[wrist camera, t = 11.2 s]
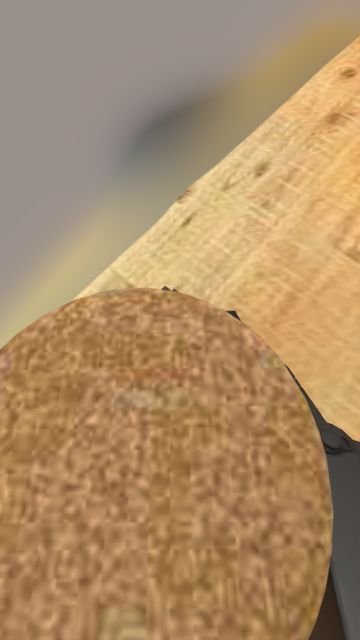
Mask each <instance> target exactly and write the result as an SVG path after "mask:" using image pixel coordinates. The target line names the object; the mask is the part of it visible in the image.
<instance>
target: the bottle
mask: <svg viewBox="0 0 360 640" xmlns="http://www.w3.org/2000/svg"><path fill="white" fill-rule="evenodd" d="M332 538H333V504H332V496H331V488H330V480H329V472H328V464H327V458H326V454H325V451H324V447H323V444H322V440H321V436H320V433H319V430H318V428H317V425H316V423H315V420H314V418H313V415H312V413H311V410H310V408H309V405H308V402H307V400H306V398H305V397H304V395H303V394H302V392H301V390H300V389H299V387H298V385H297V384H296V382H295V380H294V379H293V377H292V376H291V374H290V372H289V371H288V369H287V368H286V367H285V365H284V364H283V362H282V361H281V360H280V358H279V357H278V355H277V354H276V353H275V352H274V351H273V350H272V349H271V348H270V347H269V346H268V345H267V344H266V343H265V342H264V341H263V340H262V338H261V337H260V336H259V335H257V334H256V333H255V332H254V331H253V330H251V329H250V328H249V327H248V326H247V325H245V324H244V323H242V322H241V321H239V320H238V319H237V318H235V317H234V316H232V315H231V314H229V313H228V312H226V311H224V310H222V309H220V308H218V307H216V306H214V305H212V304H209V303H207V302H205V301H203V300H200V299H197V298H194V297H191V296H188V295H185V294H182V293H179V292H174V291H167V290H160V289H152V288H134V289H118V290H112V291H106V292H100V293H96V294H93V295H90V296H87V297H83V298H80V299H77V300H73V301H71V302H69V303H67V304H65V305H63V306H61V307H60V308H57V309H55V310H53V311H51V312H50V313H48V314H46V315H44V316H42V317H41V318H39V319H38V320H36V321H35V322H33V323H32V324H31V325H29V326H28V327H26V328H25V329H23V330H22V331H21V332H19V333H18V334H17V335H15V336H14V337H13V338H12V339H11V340H10V341H9V342H8V343H7V344H6V345H5V346H4V347H3V348H1V349H0V640H308V639H309V637H310V634H311V632H312V630H313V627H314V625H315V623H316V620H317V617H318V613H319V610H320V606H321V603H322V600H323V596H324V593H325V589H326V583H327V577H328V571H329V565H330V559H331V553H332Z"/></svg>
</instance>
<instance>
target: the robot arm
mask: <svg viewBox="0 0 360 640" xmlns="http://www.w3.org/2000/svg"><path fill="white" fill-rule="evenodd" d="M226 312H228V313H229V314H231V315H232V316H234V317H235V318H237V319H238V320H239V321H241V320H240V319H239V317H238V315H237V313H236V312H235V311H226ZM284 365H285V364H284ZM285 367H286V368H287V369H288V371H289V372H290V374H291V376H292V377H293V379H294V380H295V382H296V384H297V385H298V387H299V389H300V390H301V392H302V394H303V395H304V397H305V398H306V400H307V402H308V405H309V408H310V410H311V413H312V415H313V418H314V420H315V423H316V425H317V428H318V430H319V433H320V436H321V440H322V444H323V447H324V451H325V454H326V458H327V464H328V472H329V480H330V488H331V496H332V504H333V538H332V553H331V559H330V565H329V571H328V577H327V583H326V589H325V593H324V596H323V600H322V603H321V606H320V610H319V613H318V617H317V620H316V623H315V625H314V627H313V630H312V632H311V634H310V637H309V639H308V640H360V442H358V441H354V440H352V439H351V438H350V437H349V436H348V435H347V434H346V433H345V432H344V431H343V430H341V429H339V428H338V427H336V426H334V425H333V424H330V423H327V422H326V421H325V420H324V418H323V417H322V415H321V414H320V412H319V411H318V410H317V408H316V407H315V405H314V404H313V402H312V401H311V399H310V398H309V397H308V395H307V394H306V392H305V391H304V389H303V388H302V387H301V386H300V384H299V382H298V381H297V379H295V376H294V375H293V373H292V372H291V371H290V369H289V368H288V367H287V366H286V365H285Z"/></svg>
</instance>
